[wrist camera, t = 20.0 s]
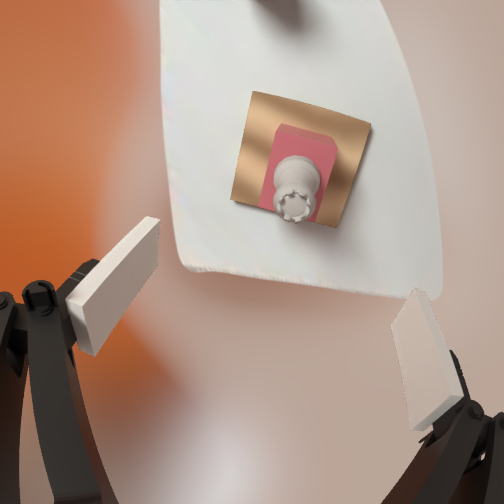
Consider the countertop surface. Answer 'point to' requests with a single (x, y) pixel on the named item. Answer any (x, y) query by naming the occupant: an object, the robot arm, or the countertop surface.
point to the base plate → (306, 117)
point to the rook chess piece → (295, 188)
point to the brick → (299, 144)
